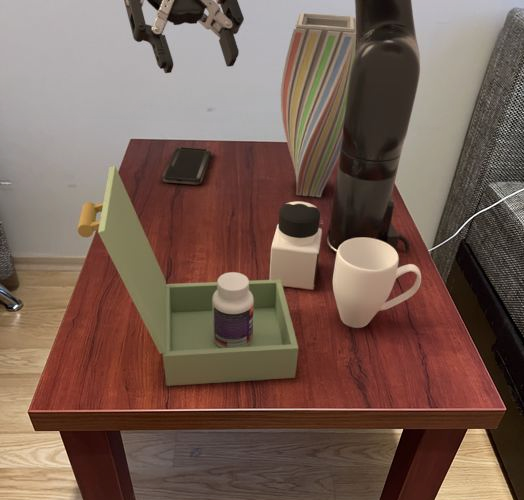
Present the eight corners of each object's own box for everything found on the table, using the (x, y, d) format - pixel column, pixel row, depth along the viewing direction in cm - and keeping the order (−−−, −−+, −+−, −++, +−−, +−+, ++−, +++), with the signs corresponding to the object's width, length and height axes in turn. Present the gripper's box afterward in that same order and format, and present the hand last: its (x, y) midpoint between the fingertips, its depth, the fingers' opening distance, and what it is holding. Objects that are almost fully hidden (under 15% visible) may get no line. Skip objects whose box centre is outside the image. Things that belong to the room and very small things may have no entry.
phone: (211, 149, 119) (200, 180, 108) (211, 154, 120) (200, 185, 109) (176, 147, 119) (161, 177, 108) (176, 152, 120) (161, 182, 109)
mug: (326, 334, 77) (337, 267, 69) (327, 299, 83) (337, 234, 76) (410, 342, 77) (431, 276, 69) (405, 306, 83) (423, 241, 75)
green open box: (278, 308, 81) (280, 279, 78) (295, 377, 71) (298, 348, 67) (166, 313, 79) (163, 284, 76) (166, 386, 69) (162, 355, 65)
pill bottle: (257, 347, 73) (260, 289, 67) (219, 355, 72) (217, 297, 65) (245, 322, 77) (247, 265, 71) (209, 329, 76) (206, 272, 69)
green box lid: (115, 165, 63) (80, 175, 64) (104, 230, 53) (63, 241, 53) (165, 281, 75) (136, 288, 76) (165, 352, 65) (131, 361, 65)
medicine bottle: (313, 291, 85) (322, 222, 76) (268, 285, 85) (272, 217, 77) (317, 265, 90) (326, 199, 82) (275, 260, 90) (279, 193, 82)
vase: (342, 178, 114) (366, 14, 94) (342, 209, 104) (369, 33, 84) (278, 172, 115) (288, 8, 94) (272, 203, 105) (282, 27, 84)
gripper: (109, -85, 62) (152, 54, 62) (223, -84, 67) (262, 43, 67) (103, -36, 69) (142, 88, 69) (207, -39, 74) (242, 76, 74)
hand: (201, 66), depth 68 cm, fingers open, 8 cm apart
